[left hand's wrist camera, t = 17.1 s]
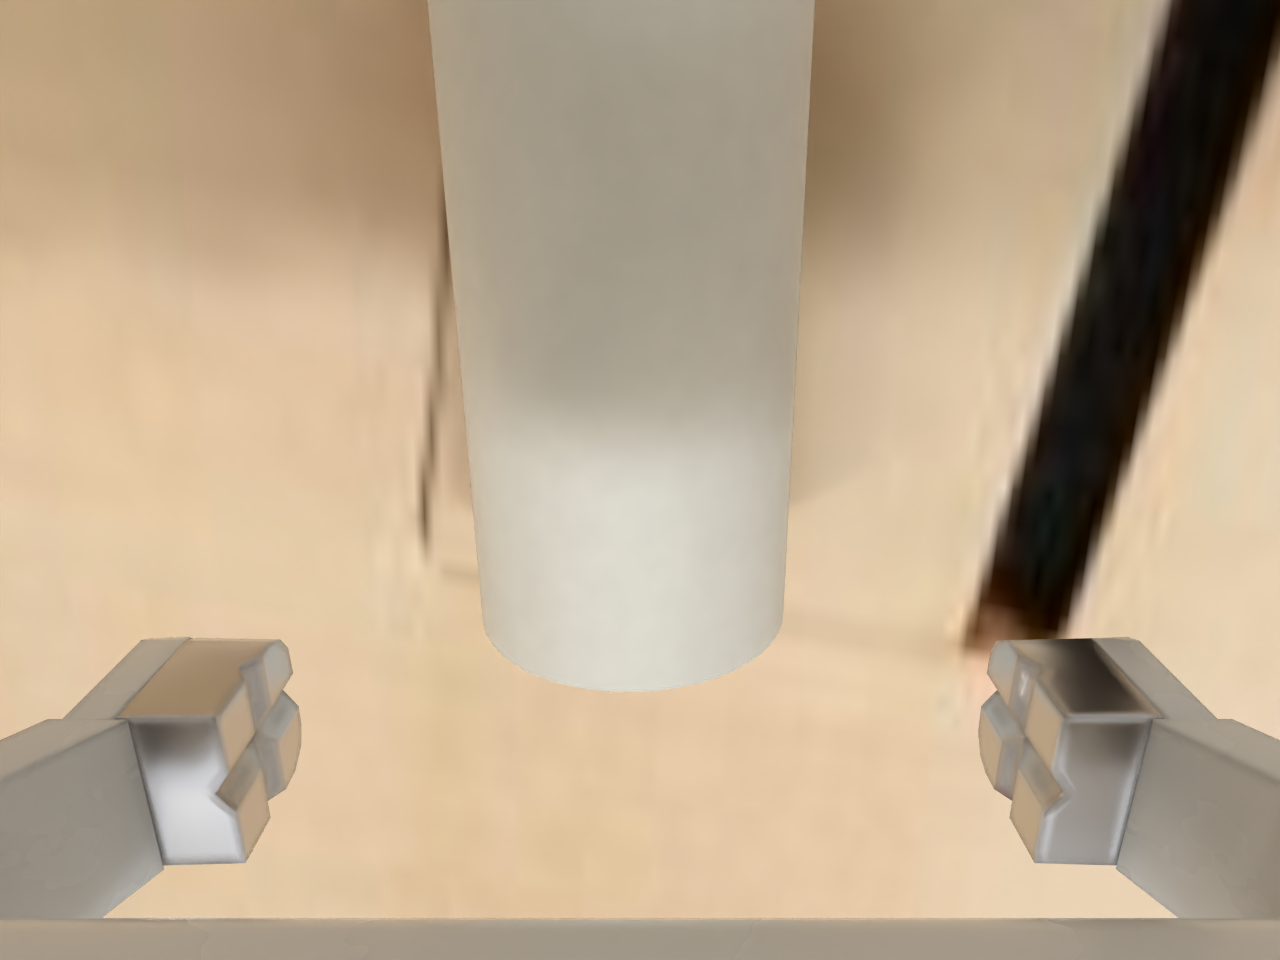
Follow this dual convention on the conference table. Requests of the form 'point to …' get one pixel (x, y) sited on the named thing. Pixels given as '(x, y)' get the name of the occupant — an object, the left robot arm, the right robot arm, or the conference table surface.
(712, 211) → the rod
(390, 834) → the conference table surface
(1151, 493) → the conference table surface
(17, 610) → the conference table surface
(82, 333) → the conference table surface
